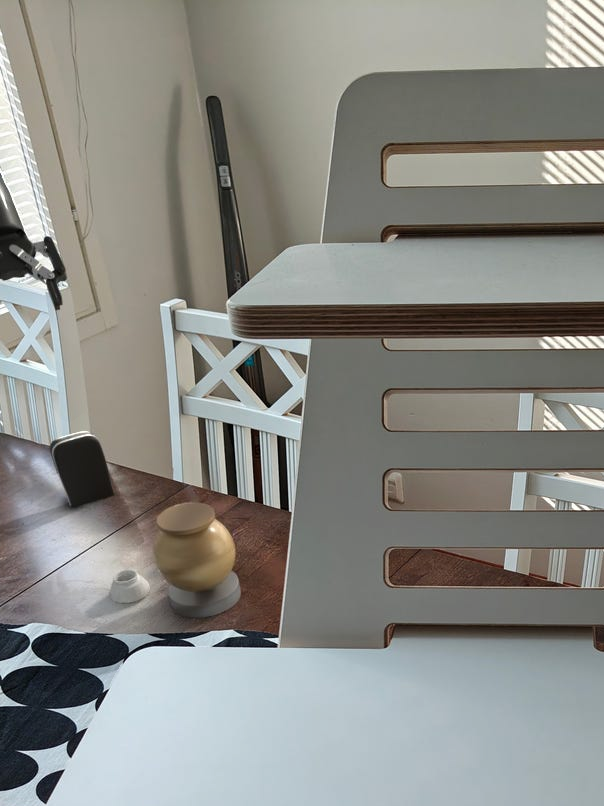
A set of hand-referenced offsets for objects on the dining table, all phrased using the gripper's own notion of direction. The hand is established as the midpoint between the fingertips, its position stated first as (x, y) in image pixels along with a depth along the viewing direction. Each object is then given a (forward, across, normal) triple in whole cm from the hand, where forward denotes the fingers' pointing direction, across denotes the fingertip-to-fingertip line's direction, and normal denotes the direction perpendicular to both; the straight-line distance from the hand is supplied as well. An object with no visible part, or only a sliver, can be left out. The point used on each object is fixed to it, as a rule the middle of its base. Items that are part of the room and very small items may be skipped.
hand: (27, 313), depth 141 cm
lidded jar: (+50, +8, -14) cm, 53 cm away
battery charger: (+27, 0, +10) cm, 29 cm away
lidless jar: (+46, -1, -9) cm, 47 cm away
